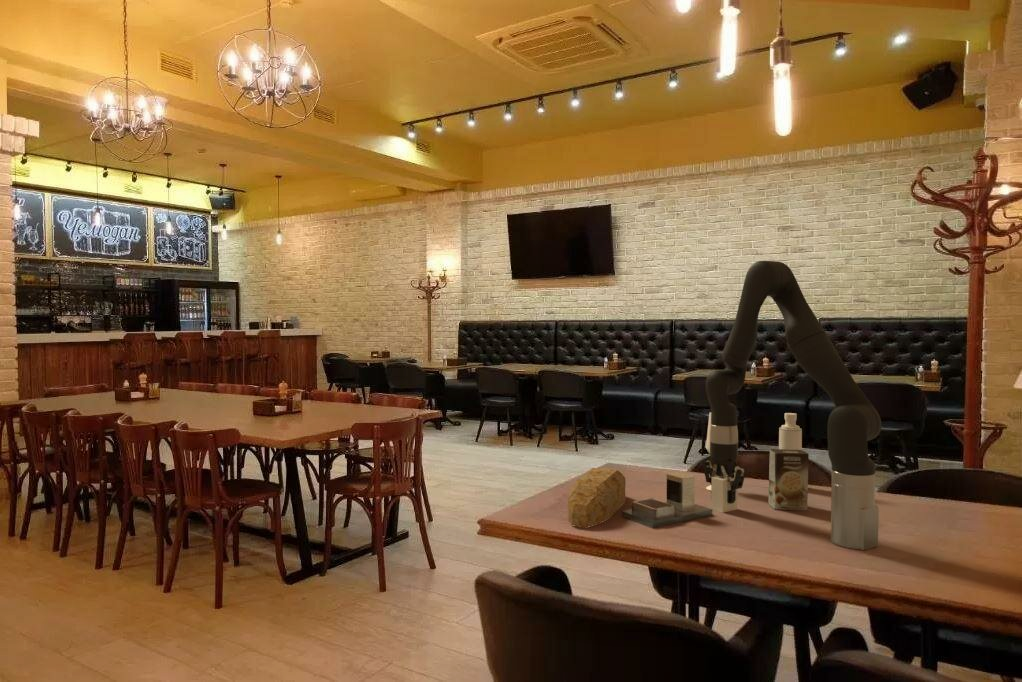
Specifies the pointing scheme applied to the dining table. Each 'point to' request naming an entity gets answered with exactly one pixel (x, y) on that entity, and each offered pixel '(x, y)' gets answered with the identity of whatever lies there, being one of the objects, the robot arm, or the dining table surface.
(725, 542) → the dining table surface
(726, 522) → the dining table surface
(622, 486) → the bread
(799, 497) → the coffee box
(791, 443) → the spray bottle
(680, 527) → the dining table surface
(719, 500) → the beige block
